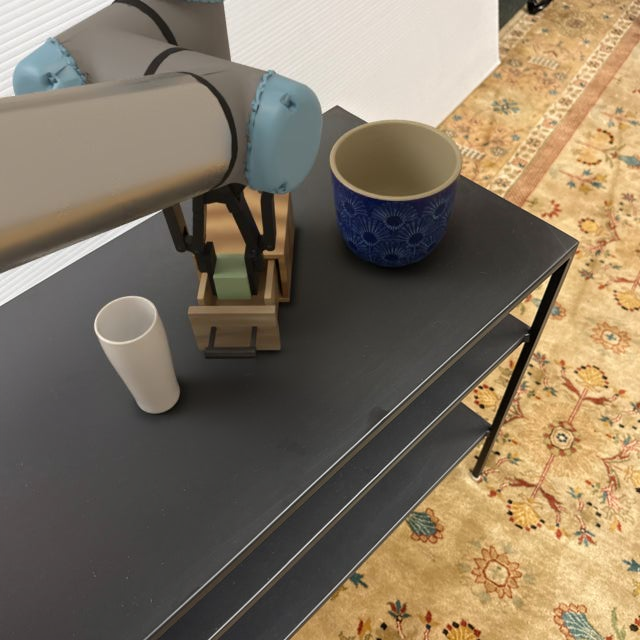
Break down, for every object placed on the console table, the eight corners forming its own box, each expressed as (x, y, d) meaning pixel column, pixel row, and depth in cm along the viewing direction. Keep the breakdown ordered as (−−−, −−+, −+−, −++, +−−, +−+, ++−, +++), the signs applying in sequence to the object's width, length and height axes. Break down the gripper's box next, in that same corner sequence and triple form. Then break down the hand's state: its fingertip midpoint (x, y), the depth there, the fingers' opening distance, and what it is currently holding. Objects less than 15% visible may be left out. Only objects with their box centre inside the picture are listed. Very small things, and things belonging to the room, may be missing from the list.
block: (218, 300, 79) (213, 277, 76) (222, 276, 81) (217, 253, 78) (251, 299, 79) (246, 277, 76) (253, 275, 81) (250, 253, 78)
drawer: (277, 379, 79) (272, 343, 73) (193, 379, 79) (181, 343, 74) (286, 272, 90) (282, 234, 85) (212, 273, 91) (203, 235, 85)
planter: (349, 296, 88) (349, 210, 76) (320, 216, 99) (315, 130, 87) (466, 272, 90) (483, 184, 78) (426, 196, 101) (435, 109, 89)
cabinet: (289, 302, 88) (283, 254, 81) (205, 302, 88) (192, 255, 81) (294, 229, 97) (290, 180, 90) (218, 230, 98) (208, 181, 91)
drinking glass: (133, 377, 81) (96, 298, 69) (187, 371, 81) (159, 291, 70) (129, 424, 77) (89, 348, 65) (186, 417, 77) (156, 340, 65)
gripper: (104, 147, 60) (162, 310, 78) (288, 143, 59) (303, 309, 77) (122, 102, 64) (173, 266, 82) (292, 98, 64) (306, 264, 82)
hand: (236, 286), depth 80 cm, fingers closed on block, 4 cm apart
